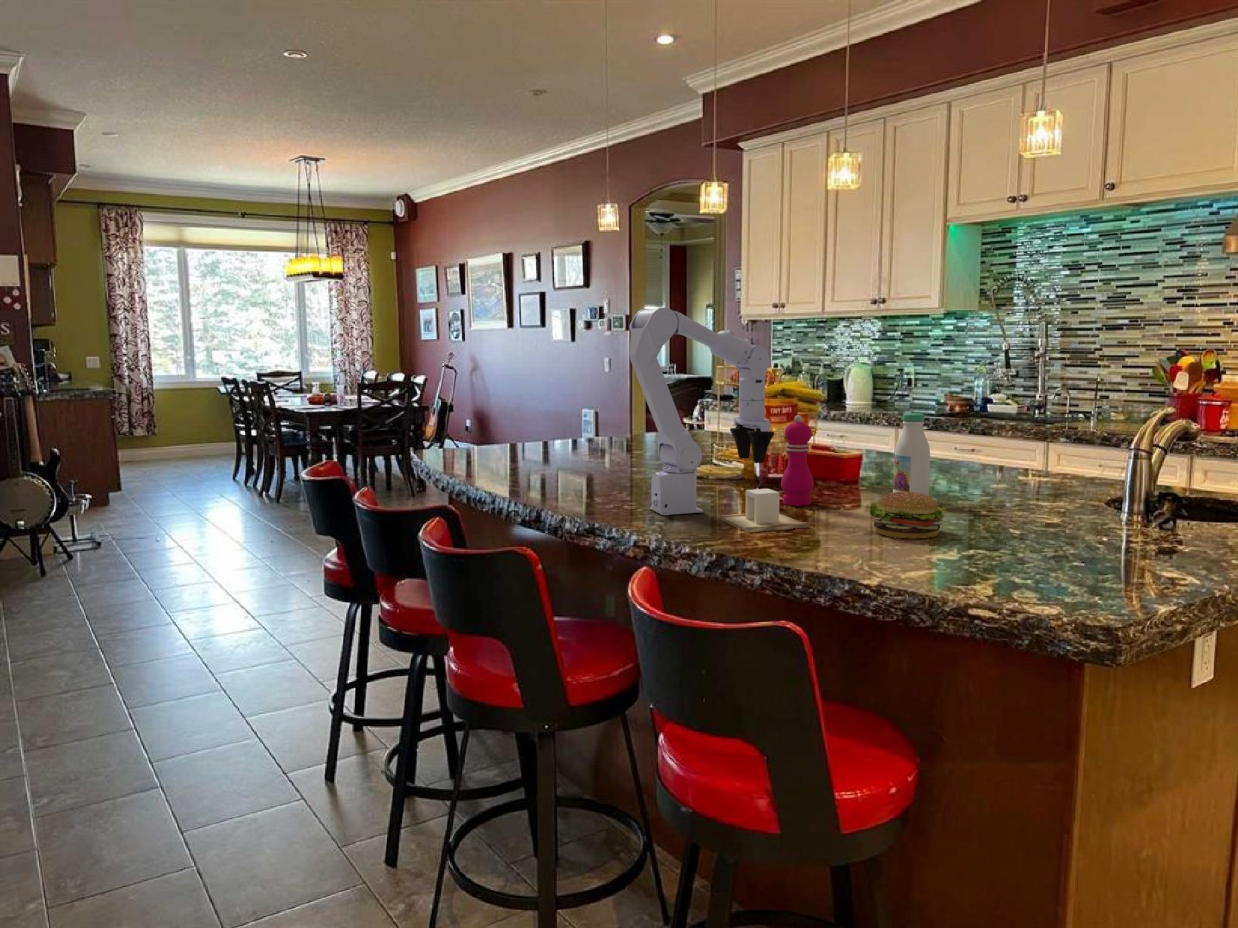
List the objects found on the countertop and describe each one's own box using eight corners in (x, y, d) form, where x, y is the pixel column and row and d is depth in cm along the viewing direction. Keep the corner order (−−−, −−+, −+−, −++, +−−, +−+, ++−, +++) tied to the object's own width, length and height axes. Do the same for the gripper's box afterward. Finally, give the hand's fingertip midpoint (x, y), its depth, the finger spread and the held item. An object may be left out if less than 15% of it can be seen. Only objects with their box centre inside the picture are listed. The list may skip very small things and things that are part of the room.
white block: (778, 522, 177) (779, 492, 177) (756, 523, 176) (756, 494, 175) (767, 517, 182) (767, 488, 181) (745, 519, 181) (745, 490, 180)
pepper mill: (813, 506, 196) (815, 416, 193) (780, 506, 197) (781, 416, 195) (813, 500, 203) (814, 413, 200) (781, 500, 204) (782, 413, 202)
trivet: (747, 532, 171) (747, 527, 171) (720, 519, 183) (720, 515, 183) (807, 527, 175) (807, 523, 175) (776, 515, 187) (776, 511, 187)
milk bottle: (923, 498, 204) (927, 412, 202) (932, 504, 197) (935, 415, 194) (889, 498, 205) (892, 412, 202) (896, 504, 198) (899, 415, 195)
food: (951, 529, 172) (953, 489, 171) (936, 544, 160) (938, 501, 159) (880, 522, 179) (881, 484, 178) (861, 536, 167) (862, 494, 166)
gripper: (783, 401, 191) (782, 463, 193) (753, 397, 205) (753, 455, 207) (753, 402, 189) (753, 465, 191) (725, 398, 203) (725, 457, 205)
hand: (751, 460), depth 199 cm, fingers open, 7 cm apart
